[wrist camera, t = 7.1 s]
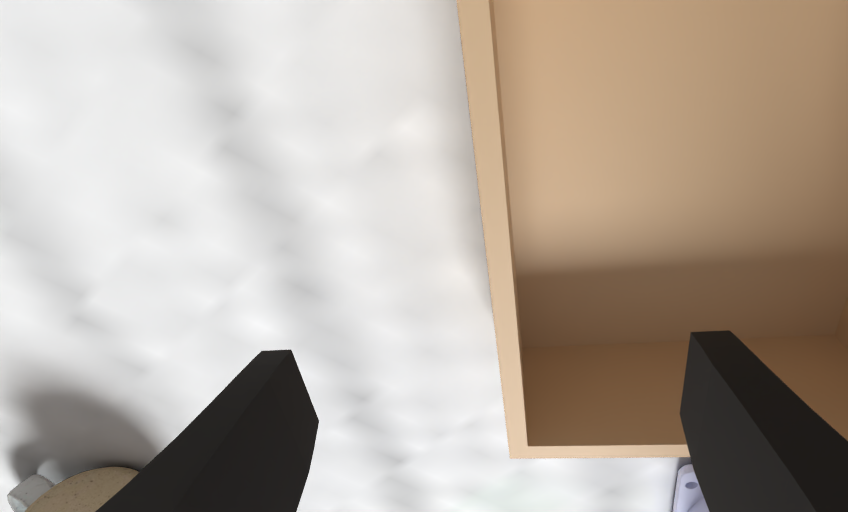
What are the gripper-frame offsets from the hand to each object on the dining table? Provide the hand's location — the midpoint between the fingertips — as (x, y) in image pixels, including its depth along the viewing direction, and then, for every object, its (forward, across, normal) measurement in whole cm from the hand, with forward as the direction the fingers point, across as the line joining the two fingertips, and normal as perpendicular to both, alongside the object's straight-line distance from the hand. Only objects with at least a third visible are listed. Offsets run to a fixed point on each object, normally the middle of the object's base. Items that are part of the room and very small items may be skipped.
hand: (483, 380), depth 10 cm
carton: (+9, -6, 0) cm, 11 cm away
